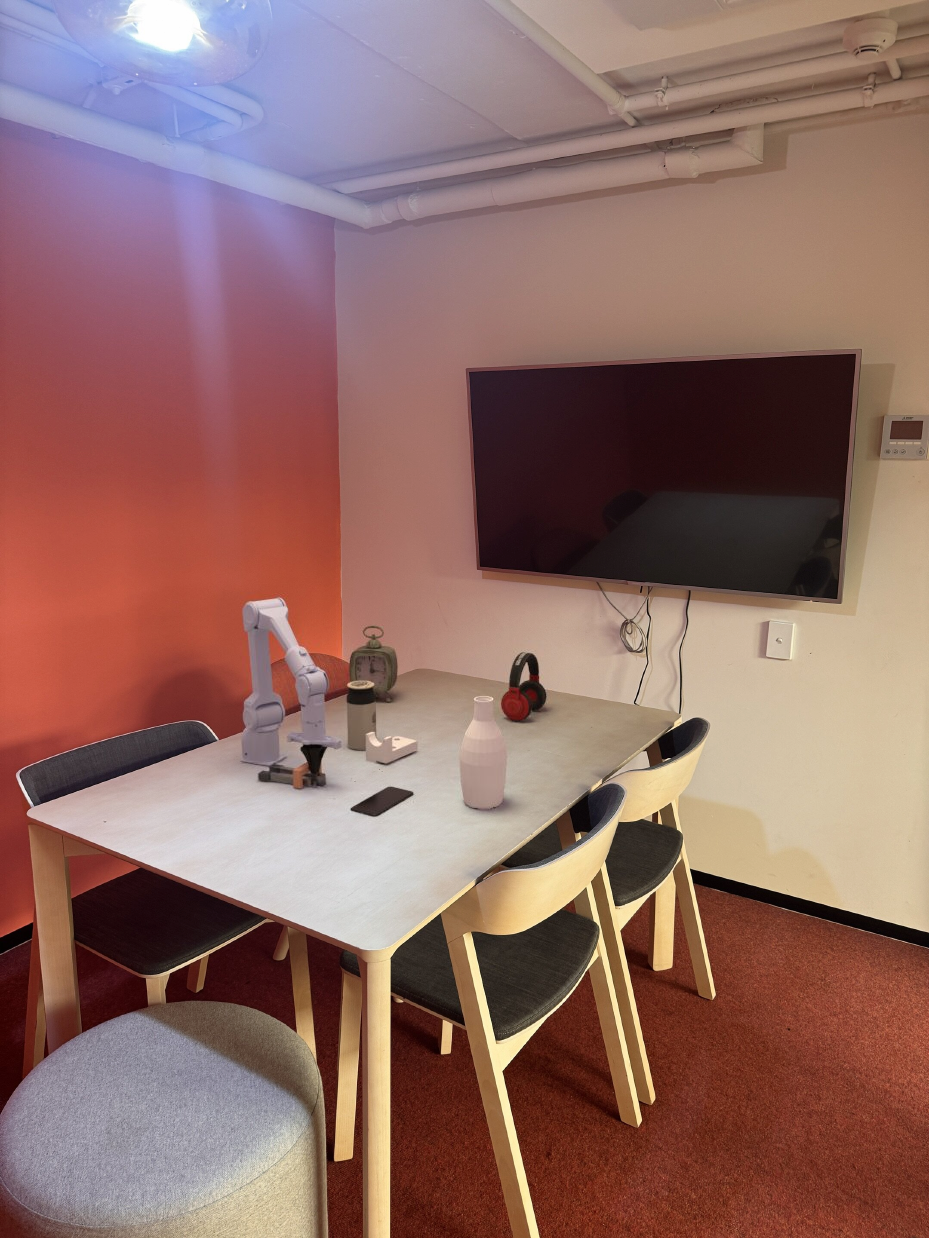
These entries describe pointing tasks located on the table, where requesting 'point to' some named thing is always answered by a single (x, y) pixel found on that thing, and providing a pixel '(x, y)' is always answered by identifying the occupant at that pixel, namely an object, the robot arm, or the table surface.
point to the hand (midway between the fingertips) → (315, 772)
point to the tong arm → (283, 778)
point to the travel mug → (360, 713)
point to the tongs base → (318, 777)
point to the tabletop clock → (374, 665)
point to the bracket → (388, 748)
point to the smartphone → (382, 801)
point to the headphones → (523, 689)
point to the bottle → (483, 758)
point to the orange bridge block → (301, 774)
